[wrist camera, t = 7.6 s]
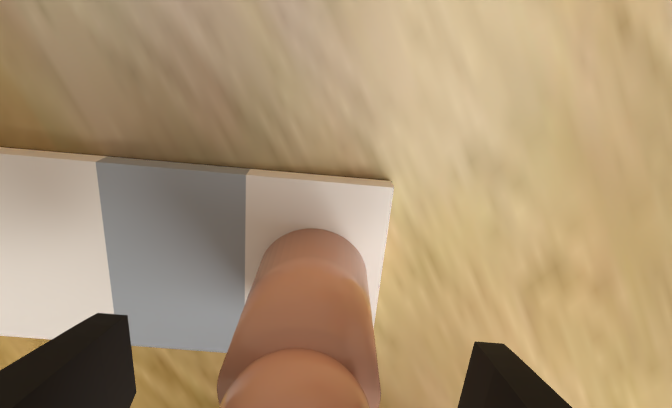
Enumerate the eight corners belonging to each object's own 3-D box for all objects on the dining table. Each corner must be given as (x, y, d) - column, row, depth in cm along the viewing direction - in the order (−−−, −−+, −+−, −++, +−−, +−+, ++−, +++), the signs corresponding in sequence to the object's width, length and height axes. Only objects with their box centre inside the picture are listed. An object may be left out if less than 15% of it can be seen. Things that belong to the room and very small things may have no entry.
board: (391, 181, 12) (394, 187, 11) (367, 350, 14) (368, 363, 13) (-337, 117, 11) (-372, 121, 11) (-246, 303, 13) (-271, 314, 13)
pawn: (372, 233, 12) (410, 441, 6) (360, 326, 13) (380, 586, 7) (259, 223, 12) (168, 425, 5) (257, 318, 13) (180, 573, 7)
